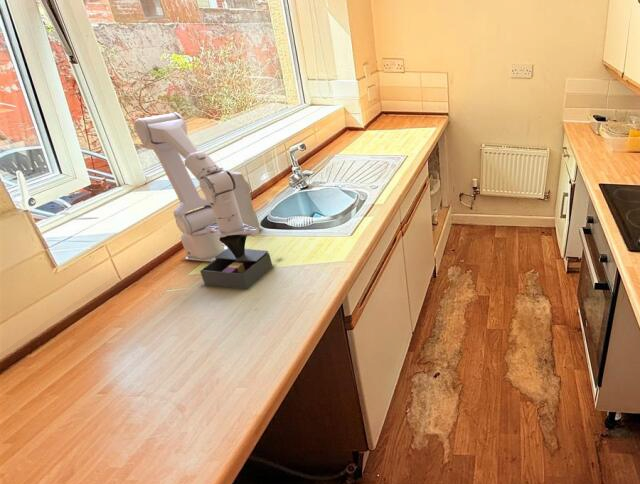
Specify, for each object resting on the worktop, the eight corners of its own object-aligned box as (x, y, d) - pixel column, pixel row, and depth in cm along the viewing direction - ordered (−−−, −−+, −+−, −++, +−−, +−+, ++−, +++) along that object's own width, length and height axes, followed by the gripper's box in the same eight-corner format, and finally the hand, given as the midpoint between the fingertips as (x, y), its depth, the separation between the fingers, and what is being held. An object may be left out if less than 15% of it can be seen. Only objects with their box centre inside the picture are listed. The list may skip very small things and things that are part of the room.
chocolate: (223, 283, 112) (219, 272, 111) (243, 267, 119) (240, 256, 118) (233, 284, 112) (229, 273, 110) (253, 267, 119) (250, 257, 118)
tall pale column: (229, 231, 139) (211, 172, 130) (238, 225, 143) (221, 168, 134) (257, 233, 138) (240, 174, 129) (265, 227, 142) (249, 170, 133)
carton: (205, 285, 112) (199, 270, 110) (233, 263, 122) (229, 249, 120) (247, 288, 111) (242, 274, 109) (272, 266, 120) (269, 252, 118)
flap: (215, 258, 115) (214, 257, 115) (229, 248, 119) (228, 247, 119) (256, 262, 113) (255, 261, 113) (268, 251, 118) (268, 250, 118)
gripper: (191, 218, 107) (206, 261, 113) (240, 222, 106) (253, 265, 111) (211, 207, 114) (225, 248, 119) (259, 210, 112) (270, 251, 118)
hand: (240, 255), depth 116 cm, fingers closed, pressing on flap
